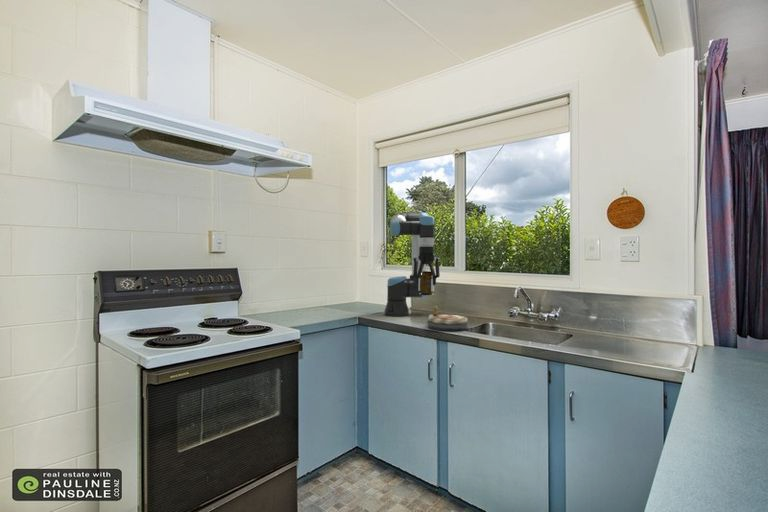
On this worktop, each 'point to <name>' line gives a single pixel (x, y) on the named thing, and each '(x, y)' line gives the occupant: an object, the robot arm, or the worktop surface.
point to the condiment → (426, 283)
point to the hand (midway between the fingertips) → (426, 290)
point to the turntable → (446, 318)
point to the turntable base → (447, 326)
